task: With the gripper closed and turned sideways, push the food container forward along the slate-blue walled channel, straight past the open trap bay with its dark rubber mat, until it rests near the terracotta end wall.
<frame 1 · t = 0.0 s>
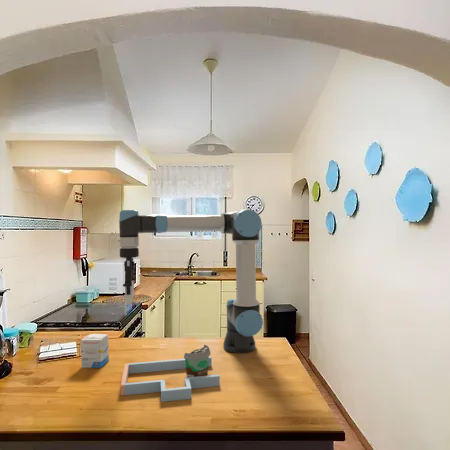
hand: (129, 299, 148), 28 cm above the counter, fingers open, 13 cm apart
ink box: (95, 364, 153), on the counter
trap mat: (175, 394, 125), on the counter
food container: (200, 376, 139), on the counter
channel: (172, 378, 137), on the counter
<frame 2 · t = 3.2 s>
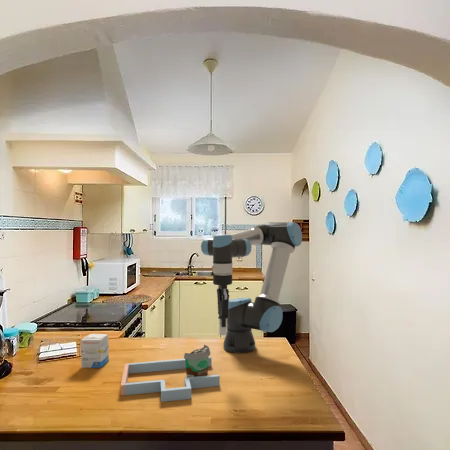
hand: (223, 334, 141), 15 cm above the counter, fingers closed
nothing on the counter moved.
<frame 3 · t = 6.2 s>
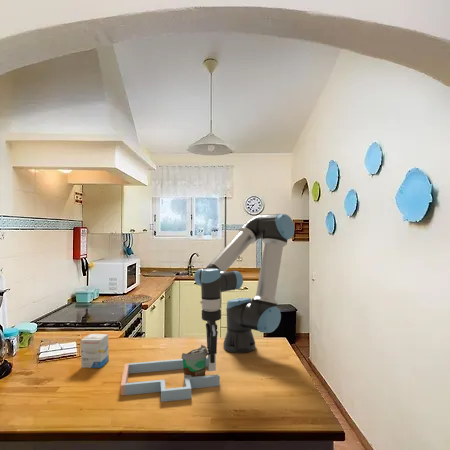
hand: (212, 369, 140), 2 cm above the counter, fingers closed
food container: (198, 376, 139), on the counter, touching gripper
everything else where it was.
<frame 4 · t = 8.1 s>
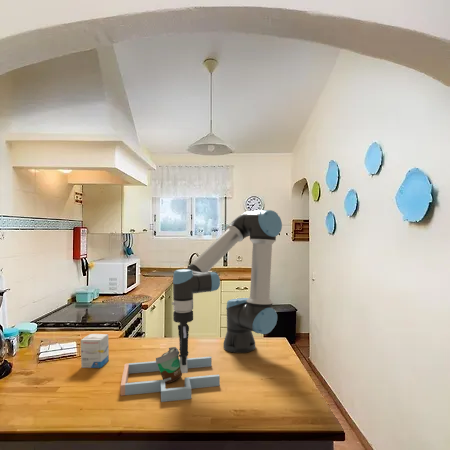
hand: (183, 372, 138), 2 cm above the counter, fingers closed
food container: (176, 377, 136), point 1 cm above the counter, touching gripper
everything else where it was.
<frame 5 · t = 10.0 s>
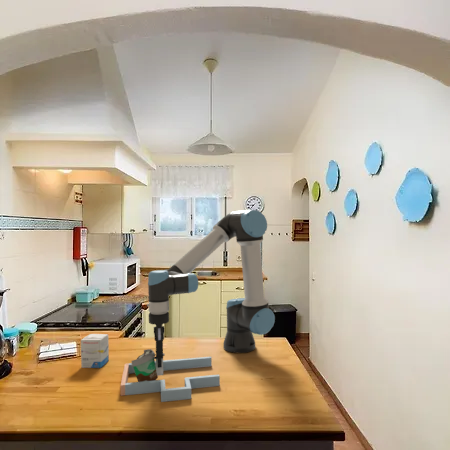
hand: (159, 374, 136), 2 cm above the counter, fingers closed
food container: (152, 380, 134), point 1 cm above the counter, touching gripper
everything else where it was.
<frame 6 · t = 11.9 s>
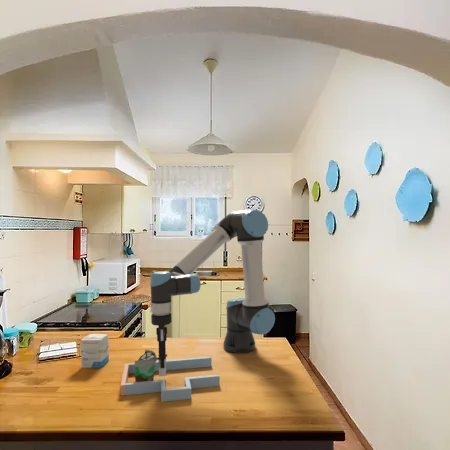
hand: (162, 375, 137), 2 cm above the counter, fingers closed
food container: (147, 382, 134), on the counter
everything else where it was.
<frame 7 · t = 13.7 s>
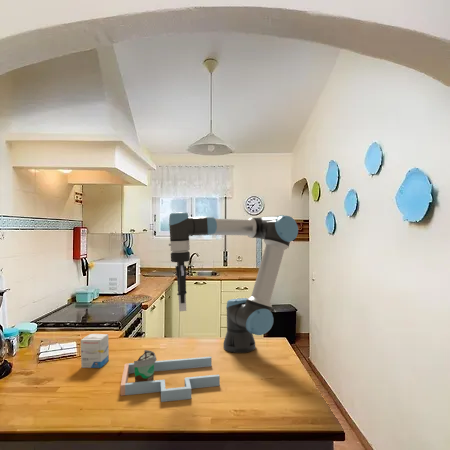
hand: (182, 310, 144), 24 cm above the counter, fingers closed
nothing on the counter moved.
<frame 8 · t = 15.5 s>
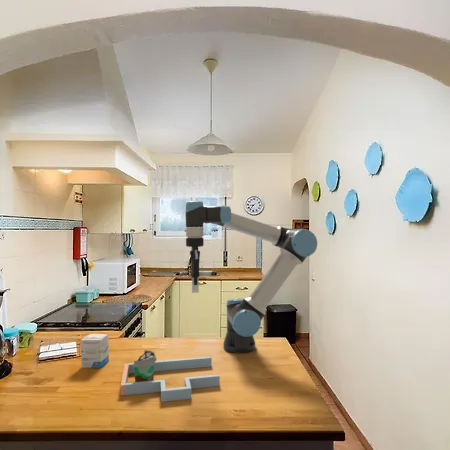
hand: (195, 292, 155), 29 cm above the counter, fingers closed
nothing on the counter moved.
at the end: food container inside the target area (2.4 cm from its centre), on the counter; food container tilted 0° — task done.
